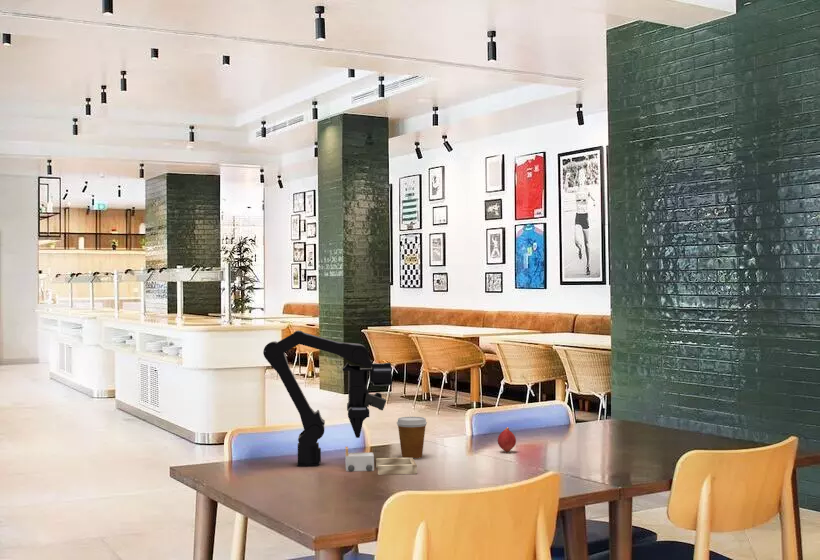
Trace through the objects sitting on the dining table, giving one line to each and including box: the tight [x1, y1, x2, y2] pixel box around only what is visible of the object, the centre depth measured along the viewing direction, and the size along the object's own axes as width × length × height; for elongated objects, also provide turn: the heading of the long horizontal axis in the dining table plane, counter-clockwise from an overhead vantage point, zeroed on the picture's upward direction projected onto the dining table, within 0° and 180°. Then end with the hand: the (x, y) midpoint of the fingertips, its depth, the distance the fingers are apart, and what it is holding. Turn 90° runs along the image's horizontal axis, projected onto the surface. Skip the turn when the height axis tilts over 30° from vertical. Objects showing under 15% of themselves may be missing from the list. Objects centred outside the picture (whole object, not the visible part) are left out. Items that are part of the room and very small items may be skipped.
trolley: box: [344, 446, 375, 473], centre depth 274 cm, size 8×7×6 cm
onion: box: [497, 426, 517, 453], centre depth 301 cm, size 6×6×8 cm
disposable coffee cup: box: [396, 416, 428, 459], centre depth 293 cm, size 10×10×12 cm
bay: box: [375, 457, 418, 476], centre depth 272 cm, size 11×12×2 cm
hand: (357, 437), depth 283 cm, fingers closed
